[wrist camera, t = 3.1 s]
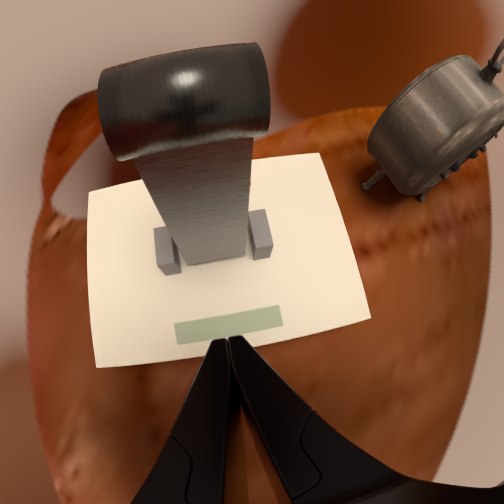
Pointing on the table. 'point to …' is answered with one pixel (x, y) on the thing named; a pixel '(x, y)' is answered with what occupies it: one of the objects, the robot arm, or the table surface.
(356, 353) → the table surface
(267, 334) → the switch box
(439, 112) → the alarm clock
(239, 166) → the breaker lever
